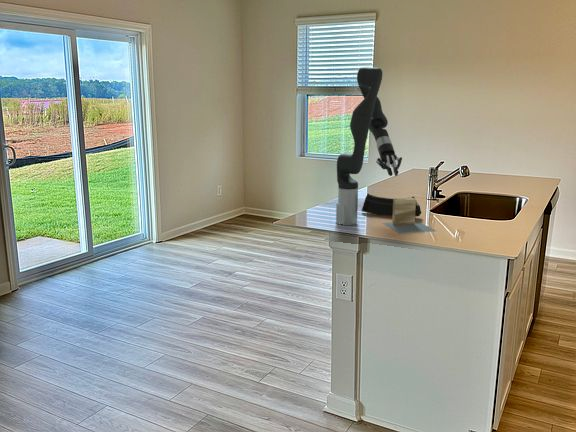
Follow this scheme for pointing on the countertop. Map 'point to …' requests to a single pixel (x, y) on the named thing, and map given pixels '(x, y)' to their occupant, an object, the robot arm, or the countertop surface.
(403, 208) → the oak tile
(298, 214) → the countertop surface
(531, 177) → the countertop surface
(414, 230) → the rubber mat
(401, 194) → the countertop surface
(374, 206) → the magazine
